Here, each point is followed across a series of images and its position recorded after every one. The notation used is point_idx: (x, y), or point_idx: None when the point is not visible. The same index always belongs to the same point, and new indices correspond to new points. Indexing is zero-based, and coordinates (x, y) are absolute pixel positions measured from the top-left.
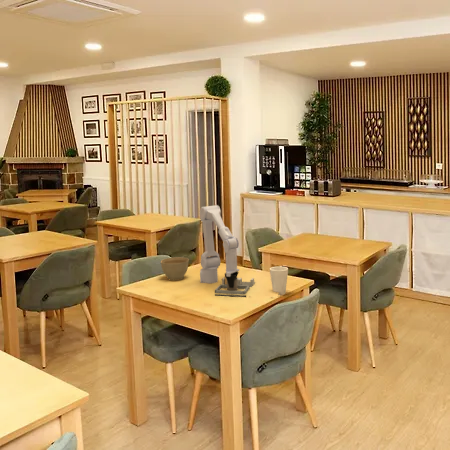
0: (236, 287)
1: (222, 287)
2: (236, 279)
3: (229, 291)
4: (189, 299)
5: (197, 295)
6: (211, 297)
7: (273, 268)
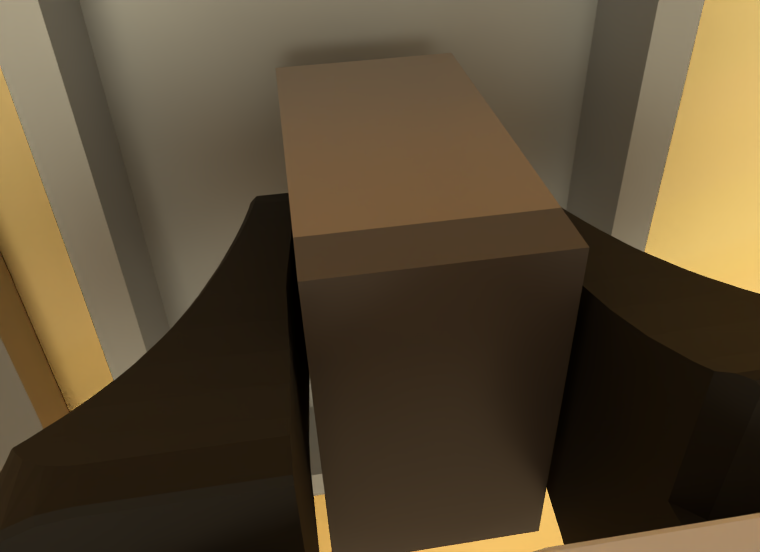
0: (460, 83)
1: None
2: (499, 230)
3: (654, 178)
4: None
5: (532, 548)
6: None
7: None
